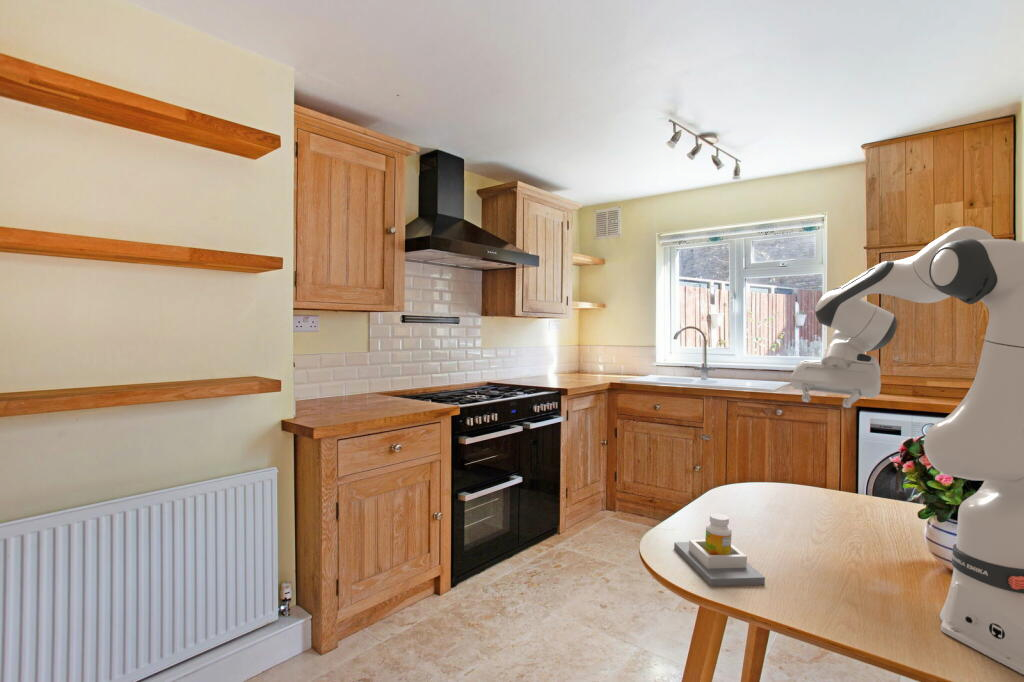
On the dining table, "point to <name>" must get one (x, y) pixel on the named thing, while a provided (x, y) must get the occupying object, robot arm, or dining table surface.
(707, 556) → the socket board
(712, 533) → the supplement bottle
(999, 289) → the robot arm
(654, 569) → the dining table surface
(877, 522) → the dining table surface
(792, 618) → the dining table surface
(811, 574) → the dining table surface
